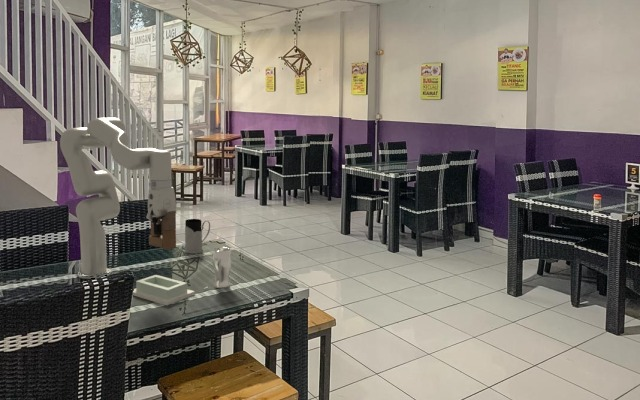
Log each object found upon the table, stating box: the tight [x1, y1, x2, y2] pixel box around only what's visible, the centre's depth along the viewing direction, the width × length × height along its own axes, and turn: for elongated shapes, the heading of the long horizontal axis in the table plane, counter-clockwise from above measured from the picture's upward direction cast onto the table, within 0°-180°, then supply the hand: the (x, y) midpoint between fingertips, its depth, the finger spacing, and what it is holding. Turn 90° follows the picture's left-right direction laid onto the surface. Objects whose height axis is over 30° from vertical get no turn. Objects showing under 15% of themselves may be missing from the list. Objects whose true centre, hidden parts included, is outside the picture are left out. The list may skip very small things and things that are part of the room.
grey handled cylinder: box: [184, 218, 211, 254], centre depth 264 cm, size 9×14×15 cm, turn 140°
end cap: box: [132, 274, 196, 306], centre depth 204 cm, size 20×14×5 cm
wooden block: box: [148, 210, 177, 251], centre depth 201 cm, size 4×11×18 cm, turn 58°
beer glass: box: [212, 246, 232, 289], centre depth 214 cm, size 7×7×15 cm
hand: (162, 232), depth 202 cm, fingers closed on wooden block, 3 cm apart
